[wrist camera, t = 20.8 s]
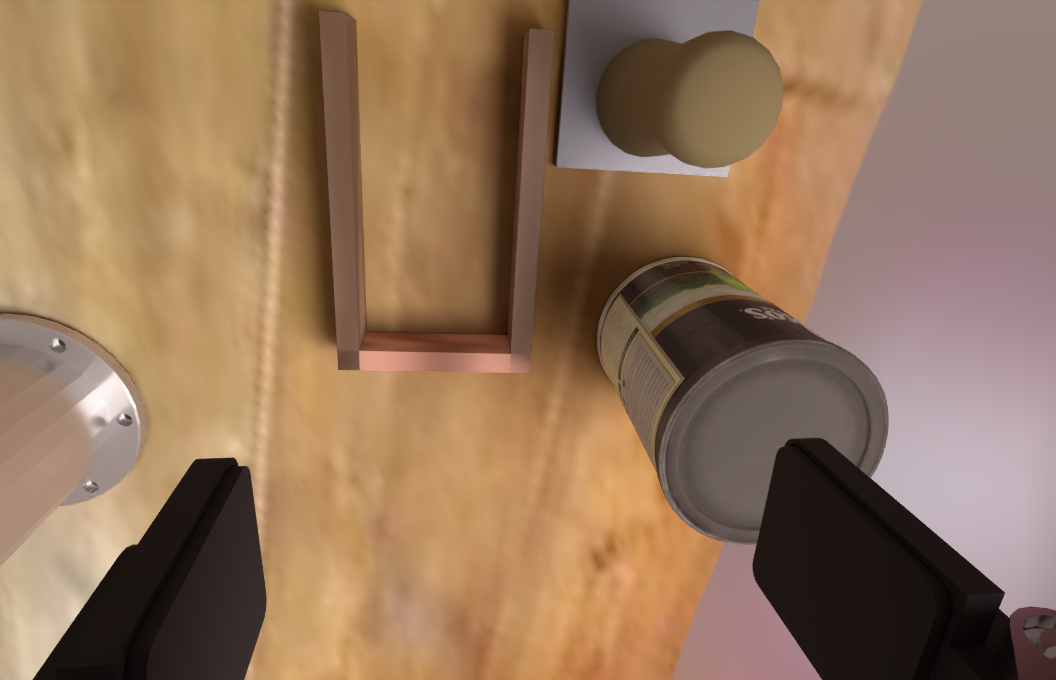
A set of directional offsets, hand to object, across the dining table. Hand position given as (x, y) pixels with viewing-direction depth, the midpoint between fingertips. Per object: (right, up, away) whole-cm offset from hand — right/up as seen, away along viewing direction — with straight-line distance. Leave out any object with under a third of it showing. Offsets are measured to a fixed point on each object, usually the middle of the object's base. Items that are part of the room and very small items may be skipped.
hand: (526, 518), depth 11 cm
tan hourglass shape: (+7, +16, +23) cm, 29 cm away
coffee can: (+9, +4, +29) cm, 31 cm away
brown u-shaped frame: (-5, +11, +24) cm, 27 cm away
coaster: (+7, +18, +23) cm, 30 cm away
